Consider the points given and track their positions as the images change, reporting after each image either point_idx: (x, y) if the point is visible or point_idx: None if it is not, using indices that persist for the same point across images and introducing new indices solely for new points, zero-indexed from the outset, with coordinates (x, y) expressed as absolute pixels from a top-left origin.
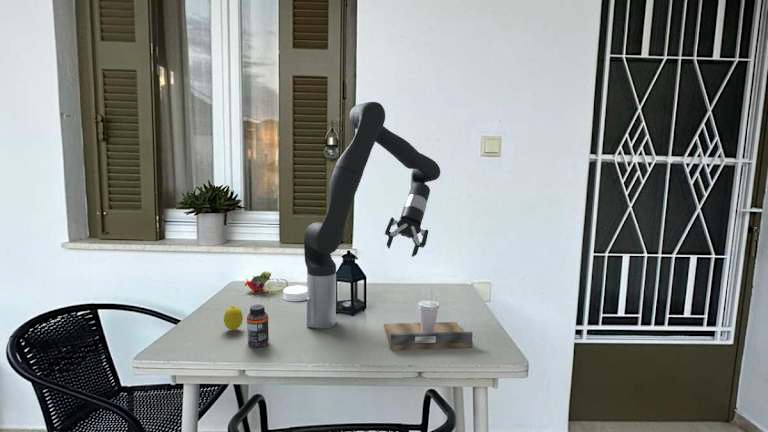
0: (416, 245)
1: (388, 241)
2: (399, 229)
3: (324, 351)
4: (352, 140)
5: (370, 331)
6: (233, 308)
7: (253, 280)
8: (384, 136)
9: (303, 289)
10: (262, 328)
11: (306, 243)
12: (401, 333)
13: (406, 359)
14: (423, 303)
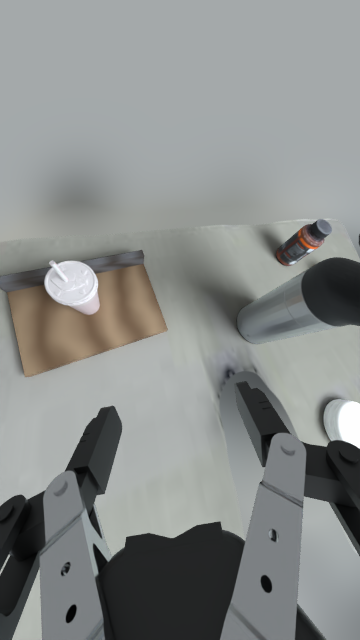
0: (80, 465)
1: (264, 402)
2: (271, 542)
3: (215, 250)
4: None
5: (182, 314)
6: None
7: None
8: None
9: (349, 432)
10: (292, 236)
11: None
12: (127, 258)
13: (117, 243)
14: (84, 278)
